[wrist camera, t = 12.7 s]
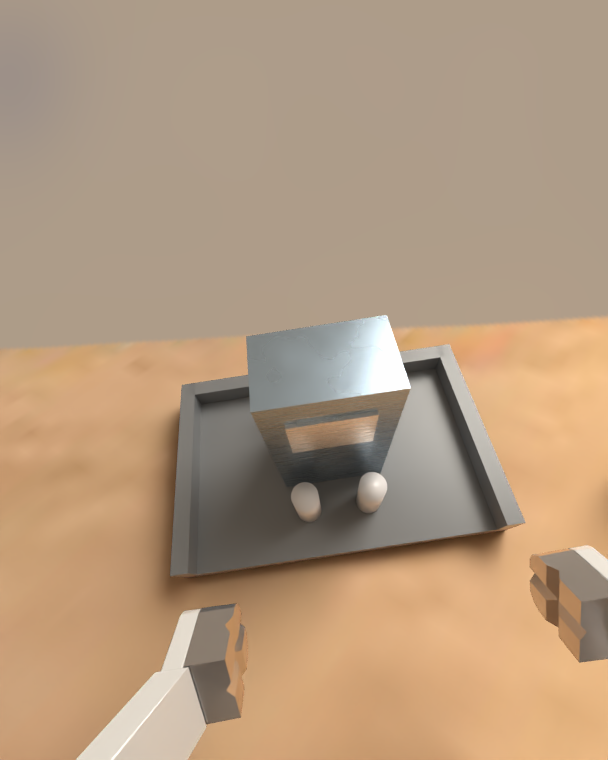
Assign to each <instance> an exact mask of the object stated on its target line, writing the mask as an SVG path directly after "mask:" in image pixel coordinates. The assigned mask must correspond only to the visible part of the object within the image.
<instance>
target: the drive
mask: <svg viewBox="0 0 608 760" xmlns="http://www.w3.org/2000/svg"><path fill="white" fill-rule="evenodd" d="M246 341H247V360H248V378H249V397H250V413H251V415H252V417H253V419H254V421H255V423H256V425H257V427H258V429H259V431H260V433H261V435H262V438H263V440H264V442H265V444H266V446H267V448H268V450H269V452H270V454H271V456H272V458H273V460H274V462H275V464H276V466H277V468H278V471H279V473H280V475H281V477H282V479H283V481H284V483H285V485H286V487H290V486H296V485H297V484H299V483H302V482H308V483H316V482H323V481H330V480H336V479H343V478H349V477H356V476H363V475H364V474H366V473H368V472H376V473H381V471H382V468H383V465H384V462H385V459H386V457H387V454H388V451H389V448H390V445H391V442H392V440H393V437H394V434H395V431H396V428H397V426H398V423H399V420H400V417H401V414H402V411H403V409H404V406H405V403H406V400H407V397H408V395H409V392H410V389H411V387H410V384H409V381H408V378H407V375H406V372H405V369H404V366H403V363H402V360H401V357H400V354H399V351H398V348H397V345H396V342H395V339H394V336H393V333H392V330H391V326H390V323H389V320H388V318H387V315H383V316H377V317H370V318H363V319H357V320H350V321H344V322H337V323H331V324H324V325H318V326H311V327H305V328H298V329H292V330H286V331H279V332H272V333H266V334H259V335H252V336H246Z"/></svg>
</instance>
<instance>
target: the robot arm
mask: <svg viewBox="0 0 608 760" xmlns="http://www.w3.org/2000/svg"><path fill="white" fill-rule="evenodd" d="M530 568H531V569H532V570H533V572H534V573H535V574H534V575H533V577H532V578H531V580H530V592H531V594H532V597H533V600H534V603H535V605H536V606H537V608H538V610H539V612H540V613H541V614H542V616H543V617H544V618H545V620H546V621H548V622H550V623H552V624H553V625H555V626H557V627H558V631H559V638H560V639H561V640H562V641H563V643H564V644H565V645H566V646H567V648H568V649H569V650H570V651H571V653H572V654H573V655H574V657H575V658H576V659H577V660H578V662H587V661H595V660H603V659H608V560H607V559H606V558H605V557H604V556H603V555H601V554H600V553H599V552H598V551H597V550H595V549H594V548H593V547H590V546H588V545H585V546H580V547H574V548H569V549H563V550H557V551H551V552H546V553H540V554H534V555H532V556H531V558H530ZM241 615H242V614H241V610H240V607H239V604H237V603H236V604H229V605H221V606H214V607H207V608H202V609H195V610H187V611H183V613H182V614H181V615H180V617H179V620H178V623H177V626H176V629H175V632H174V634H173V637H172V640H171V643H170V646H169V649H168V652H167V655H166V657H165V660H164V663H163V666H162V669H161V672H155V673H154V674H153V675H152V676H151V677H150V679H149V680H148V681H147V682H146V683H145V684H144V685H143V686H142V687H141V688H140V690H139V691H138V692H137V693H136V694H135V695H134V696H133V697H132V698H131V699H130V701H129V702H128V703H127V704H126V705H125V706H124V707H123V708H122V709H121V710H120V712H119V713H118V714H117V715H116V716H115V717H114V718H113V719H112V720H111V722H110V723H109V724H108V725H107V726H106V727H105V728H104V729H103V730H102V731H101V733H100V734H99V735H98V736H97V737H96V738H95V739H94V740H93V741H92V742H91V744H90V745H89V746H88V747H87V748H86V749H85V750H84V751H83V752H82V753H81V755H80V756H79V757H78V758H77V759H76V760H188V758H189V756H190V755H191V753H192V751H193V749H194V748H195V746H196V744H197V743H198V741H199V739H200V737H201V736H202V734H203V732H204V731H205V729H206V727H207V726H206V724H210V723H215V722H220V721H225V720H230V719H235V718H241V712H242V704H243V696H244V684H243V680H242V675H243V674H244V672H245V671H246V669H247V661H248V642H247V634H246V630H245V627H244V626H243V625H241V624H240V622H241Z"/></svg>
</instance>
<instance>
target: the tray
mask: <svg viewBox="0 0 608 760" xmlns="http://www.w3.org/2000/svg"><path fill="white" fill-rule="evenodd" d="M399 354H400V357H401V360H402V363H403V366H404V369H405V372H406V375H407V378H408V381H409V384H410V387H411V389H410V392H409V395H408V397H407V400H406V403H405V406H404V409H403V411H402V414H401V417H400V420H399V423H398V426H397V428H396V431H395V434H394V437H393V440H392V442H391V445H390V448H389V451H388V454H387V457H386V459H385V462H384V465H383V468H382V471H381V473H376V472H368V473H366V474H364V475H363V476H356V477H349V478H343V479H336V480H330V481H323V482H316V483H308V482H302V483H299V484H297V485H296V486H290V487H286V485H285V483H284V481H283V479H282V477H281V475H280V473H279V471H278V468H277V466H276V464H275V462H274V460H273V458H272V456H271V454H270V452H269V450H268V448H267V446H266V444H265V442H264V440H263V438H262V435H261V433H260V431H259V429H258V427H257V425H256V423H255V421H254V419H253V417H252V415H251V413H250V397H249V378H248V375H244V376H238V377H231V378H224V379H218V380H211V381H205V382H198V383H192V384H185V385H182V389H181V405H180V422H179V438H178V454H177V471H176V487H175V503H174V519H173V536H172V552H171V568H170V576H174V577H184V578H191V577H197V576H204V575H211V574H217V573H224V572H231V571H237V570H244V569H251V568H257V567H264V566H271V565H277V564H284V563H291V562H297V561H304V560H311V559H317V558H324V557H330V556H337V555H344V554H350V553H357V552H364V551H370V550H377V549H384V548H390V547H397V546H404V545H410V544H417V543H424V542H430V541H437V540H444V539H450V538H457V537H464V536H470V535H477V534H484V533H490V532H497V531H504V530H507V529H510V528H513V527H515V526H518V525H521V524H523V523H525V520H524V518H523V516H522V513H521V511H520V509H519V506H518V504H517V502H516V499H515V497H514V495H513V492H512V490H511V488H510V485H509V483H508V481H507V478H506V476H505V474H504V471H503V469H502V467H501V464H500V462H499V459H498V457H497V455H496V452H495V450H494V448H493V445H492V443H491V441H490V438H489V436H488V434H487V431H486V429H485V427H484V424H483V422H482V420H481V417H480V415H479V413H478V410H477V408H476V406H475V403H474V401H473V399H472V396H471V394H470V392H469V389H468V387H467V385H466V382H465V380H464V378H463V375H462V373H461V371H460V368H459V366H458V364H457V361H456V359H455V357H454V354H453V352H452V350H451V347H450V345H449V344H448V345H441V346H434V347H428V348H421V349H415V350H408V351H402V352H399Z"/></svg>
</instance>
